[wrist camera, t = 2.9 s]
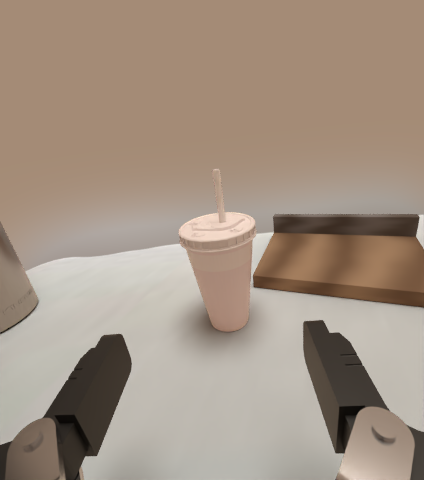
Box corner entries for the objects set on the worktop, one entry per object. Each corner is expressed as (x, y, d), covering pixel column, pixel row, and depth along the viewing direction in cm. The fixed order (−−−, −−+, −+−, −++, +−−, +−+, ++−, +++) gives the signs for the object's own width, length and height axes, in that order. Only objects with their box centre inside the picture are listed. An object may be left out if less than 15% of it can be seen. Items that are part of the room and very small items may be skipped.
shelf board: (253, 286, 29) (251, 255, 27) (276, 238, 40) (275, 213, 38) (449, 310, 22) (460, 269, 20) (411, 243, 33) (416, 213, 31)
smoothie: (273, 334, 22) (263, 169, 17) (200, 350, 22) (164, 185, 16) (252, 292, 28) (239, 160, 23) (194, 304, 28) (167, 171, 22)
